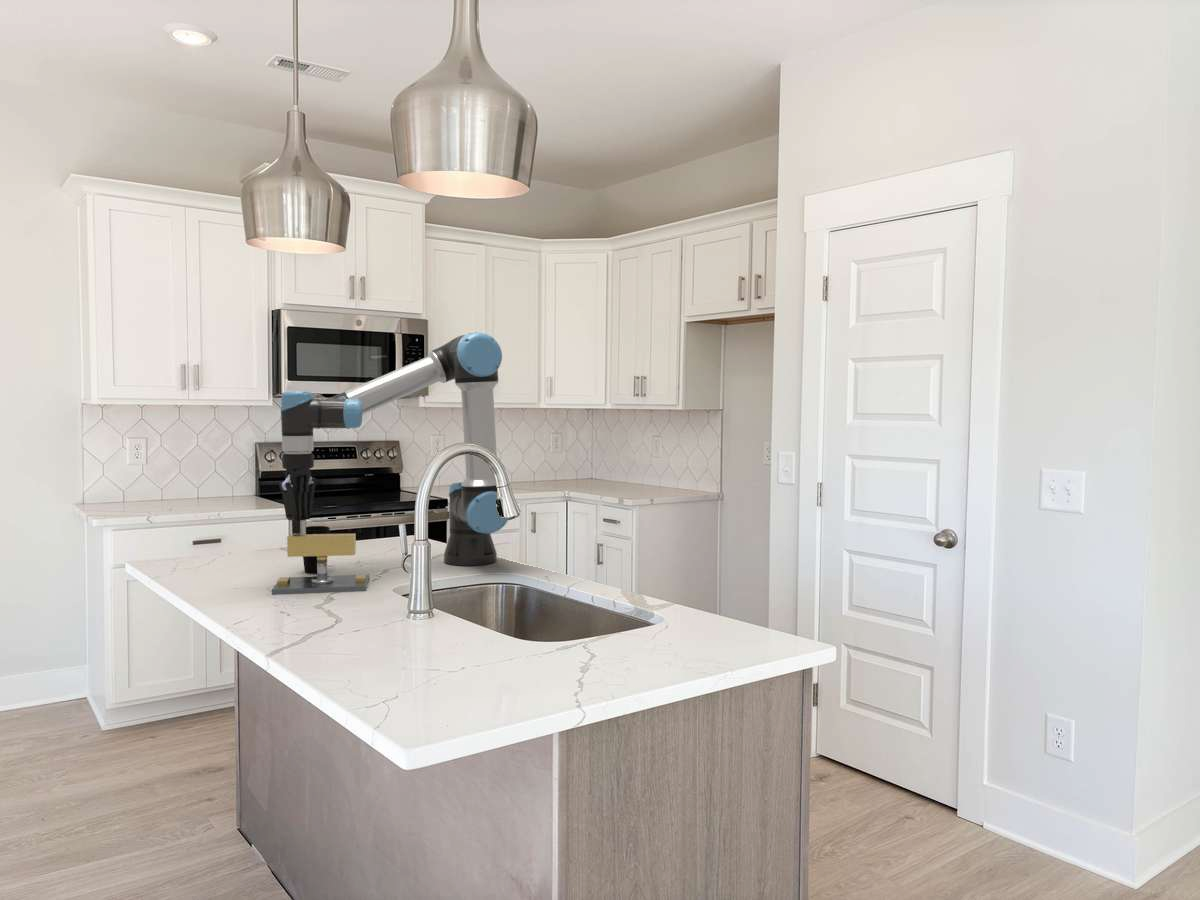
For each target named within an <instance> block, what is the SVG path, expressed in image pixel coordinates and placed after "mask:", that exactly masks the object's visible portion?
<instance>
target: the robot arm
mask: <svg viewBox="0 0 1200 900" xmlns="http://www.w3.org/2000/svg"><path fill="white" fill-rule="evenodd" d="M502 360H503V353H502V348H501V346H500V344H499V343H498V341H497V340H496V339H495V338H494V337H493V336H491V335H489V334H487V333H483V332H478V331H477V332H469V333H467V334H464V335H463V334H462V335H460V336H457V337H454V338H453V339H451V340H450V341H448V342H447V343H445V344H443V345H441V346H440V347H437V348H435V349H433V350H431V351H429V352H428V354H427V356H426V357H424V358H421V359H419V360H417V361H414V362H411V363H409V364H407V365H404V366H402V367H399V368H397V369H395V370H393V371H390V372H388V373H386V374H384V375H380V376H379V377H376V378H373V379H372V380H368V381H366V382H364V383H362V384H359V385H356V386H354V387H352V388H350V389H348V390H346V391H343V392H341V393H339V394H336V395H334V396H331V397H327V398H323V399H322V398H314V395H313V392H312V391H305V390H304V391H302V390H300V391H299V390H298V391H296V390H293V391H292V390H290V391H289V390H286V391H284V392H283V393H282V394H281V397H280V398H281V399H280V400H281V402H280V419H281V421H280V423H281V451H282V452H284V453H283V454H282V455H281V465H282V468H283V469H285V471H286V473H285V475H284V476H285V477H284V478H285V480H283V481H280V482H279V483H278V487H279V489H280V491H281V497H282V500H283V507H284V512H285V517H286V519H287V520H288V521H291V523H292V524H291V525H292V535H299V534H306V527H307V520H311V516H312V513H313V507H314V506H313V505H314V497H315V488H316V485H317V482H318V479H317V478H316V477H312V472H311V469H312V468H314V466H315V461H314V458H315V457H314V452H313V451H314V450H315V449H314V448H315V445H314V429H347V430H349V429H357V428H360V427H361V426H362V425H363V424H362V422H363V415H365V414H367V413H370V412H371V411H374V410H376V409H378V408H380V407H381V408H382V406H386V405H387V404H390V403H392V402H394V401H398V400H399V399H402V398H404V397H406V396H409V395H411V394H414V393H415V392H418V391H420V390H422V389H425V388H427V387H431V386H432V385H434V384H437V383H438V382H440V383H443V384H446V383H448V382H450V381H452V380H454V384H455V386H457V387H458V388H459V390H460V392H461V407H462V408H461V410H462V424H463V426H462V427H463V442H464V443H474V444H478V445H481V446H483V447H485V448H487V449H488V450H490V451H491V452H493V453H494V454H495V455H496V456H497V455H498V454H497V438H496V437H497V435H496V419H495V418H496V417H495V399H494V388H495V387H496V385H497V384H499V369H500V367H501V365H502V364H501V363H502ZM312 452H313V453H312ZM464 461H465V476H466V477H465V479H464V480H463V481H462V482H453V483H452V484H451V485H450V486H449V493H448V497H449V538H448V541H447V543H446V546H445V550H444V553H443V562H444V563H445V564H447V565H452V566H461V567H462V566H468V567H469V566H482V565H483V566H484V565H489V564H493V563H496V562H497V560H498V559H497V558H498V557H497V556H498V555H497V550H496V547H495V545H494V541H493V538H492V535H491V534H493V533H496V532H498V531H500V530H502V529H503V528H504V527H505V526H506V525H507V523H508V521H509V519H503V518H501V517H500V516H499V514H498V511H497V507H496V500H497V488H496V482H495V478H494V476H493V474H492V472H491V470H490V468H489V466H488V465H487V464H486V463H485V462H484V461H482V460H481V459H480V458H479V457H477V456H474V455H469V454H465V453H464Z"/></svg>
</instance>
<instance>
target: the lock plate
mask: <svg viewBox="0 0 1200 900" xmlns="http://www.w3.org/2000/svg"><path fill="white" fill-rule="evenodd" d="M370 578H371V575H370V574H343V575H328V561H327V562H318V563H317V574H316V575H315V576H292V577H291V576H287V577H286V576H285V577H283V576H282V577H279V578H278V580H277V581H276V584H274V586H273V587H272V589H271V595H291V594H293V595H294V594H316V593H317V594H318V593H340V592H341V593H344V592H346V593H348V592H366V591H367V589H368V587H369V582H370Z"/></svg>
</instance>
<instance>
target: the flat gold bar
mask: <svg viewBox="0 0 1200 900" xmlns="http://www.w3.org/2000/svg"><path fill="white" fill-rule="evenodd" d="M356 534H357V533H354V532H353V533H329V534H299V535H293V534H288V535H287V537H286V540H287V543H286V544H287V545H286V546H287V549H286V550H287V557H288V558H290V557H291V558H292V557H293V558H295V557H303V556H317V562H326V561H327V562H328V557H333V556H334V557H337V556H341V557H342V556H345V557H346V556H355V555H356V553H357V552H356V551H357V544H356V543H357V541H356Z"/></svg>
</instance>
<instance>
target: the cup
mask: <svg viewBox="0 0 1200 900" xmlns="http://www.w3.org/2000/svg"><path fill="white" fill-rule="evenodd" d="M330 530H331V527H329V526H326V525H325V526H324V525H314V526H313V525H312V526H310V525H309V526H306V534H330ZM302 559H303V568H304V574H307V575H317V563H318V562H317V556H302ZM326 562H327V563H328V560H327V561H326Z"/></svg>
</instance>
